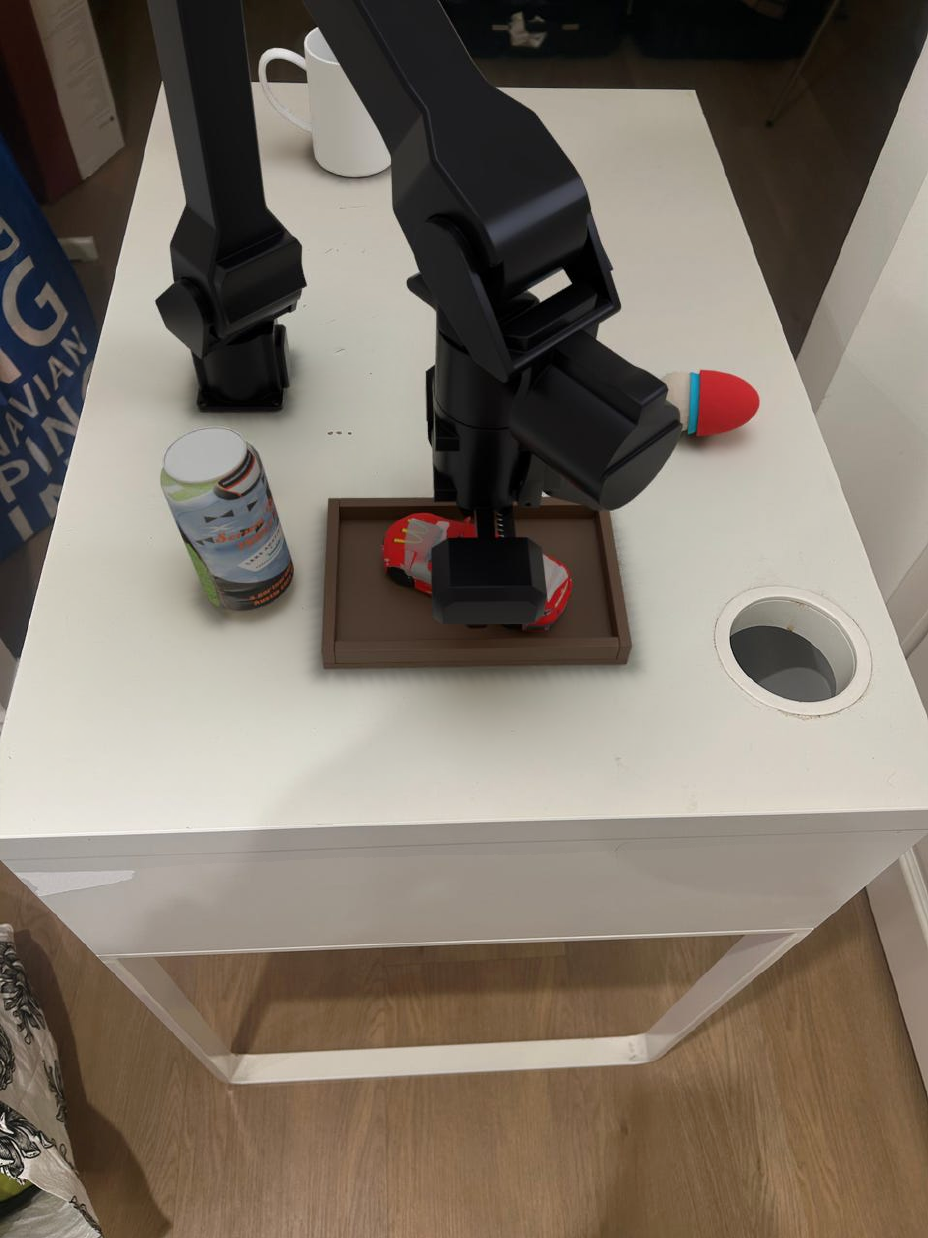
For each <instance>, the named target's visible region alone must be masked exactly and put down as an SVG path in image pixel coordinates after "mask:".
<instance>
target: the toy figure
mask: <svg viewBox="0 0 928 1238" xmlns="http://www.w3.org/2000/svg"><path fill="white" fill-rule="evenodd" d="M698 372H699V373H697V372H693V371H691V372H688V371H684V370H677V371H672V372H670V373H669V372H668V373H666V375H664V376H663V377H661V378H660V380H661V381H663V382H664V383H666V384H667V387H668V389H669V390H668V394H667V397H666V400H667V401H669V402H670V403H672V404H673V405H675V406H676V407H677V408H678V409H679V411H680V422H681V423H682V424H683V428H682V432H684V431H687V435H692V434H694V433H695V436H696V437H707V436H715V435H719V434H724V433H728V432H730V431H733V430H736V429H738V428H740V427H742V426H744V425H745V424H748V422H749V421H750V420H752V418H753V417H755V416H756V414H757V412H758V410H759V408H760V405H761V404H760V401H761V399H760V396H759V394H758V391H757V389H755V387H754V386H752V384H750V383H749V382H748V381H747V380H745V379H743V378H741V377H739V376H737V375H735V374H731V373H729V372H723V371H719V370H715V369H714V370H713V369H699V371H698Z"/></svg>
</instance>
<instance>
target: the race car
mask: <svg viewBox="0 0 928 1238" xmlns="http://www.w3.org/2000/svg"><path fill="white" fill-rule="evenodd" d="M470 518H471V517H468V518H467V519H465V520H464V521H463V523H462V522H456V521H452V520H448V519H445V518H442V517H439V516H436V515H433V514H430V513H416V514H412V515H409V516H407V517H405V518H403V519H401V520H399V521H396V522H395V523H394V524H393V525H392V526H391V527H390V528H389V529H388V531H387V533H386V534H385V536H384V537H383V540H382V543H381V553H382V562H383V567H384V570H385V572H386V574H387V573H388V571H389V576H390V577H391V579H392V580H393V581H394V582H396V583H397V584H399V585H401V586H405V587H410V586H412V585H413V584H414V582H415V588H416V589H418V590H421V591H423V592H426V593H428V594H430V595H432V592H431V548H432V547H434V546H435V545H437V544H439V543H440V542H442V541H443V540H445V539H447V538H467V537H476V534H475V525H473V524H469V521H470ZM465 522H466V523H465ZM495 536H496V537H498V533H496V532H495ZM543 561H544V570H545V579H546V588H547V601H546V606H545V611H544V615H543V616H542V617H541V618H540V619H539V620H538V621H537V622H536V623H531V624H522V626H523V627H522V630H523V631H530V632H541V631H546V630H548V629H550V628H552V626H553V625H554V626H556V623H557V622H558V621H557V620H558V619H559V618H560V616H561V615H562V613H563V611H564V609H565V607H566V605H567V602H568V599H569V598H570V596H571V593H570V592H571V588H572V581H571V578H570V574H569V571H568V569H567V568H566V567H565V566H564V565H563V564H562V563H561V562H559V561H558V560H556V559H554V558H551V557H549V556H547V555H545V554H543ZM501 625H502V626H504V627H506V628H508V629H518V628H519V627H520V626H521V624H501Z"/></svg>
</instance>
